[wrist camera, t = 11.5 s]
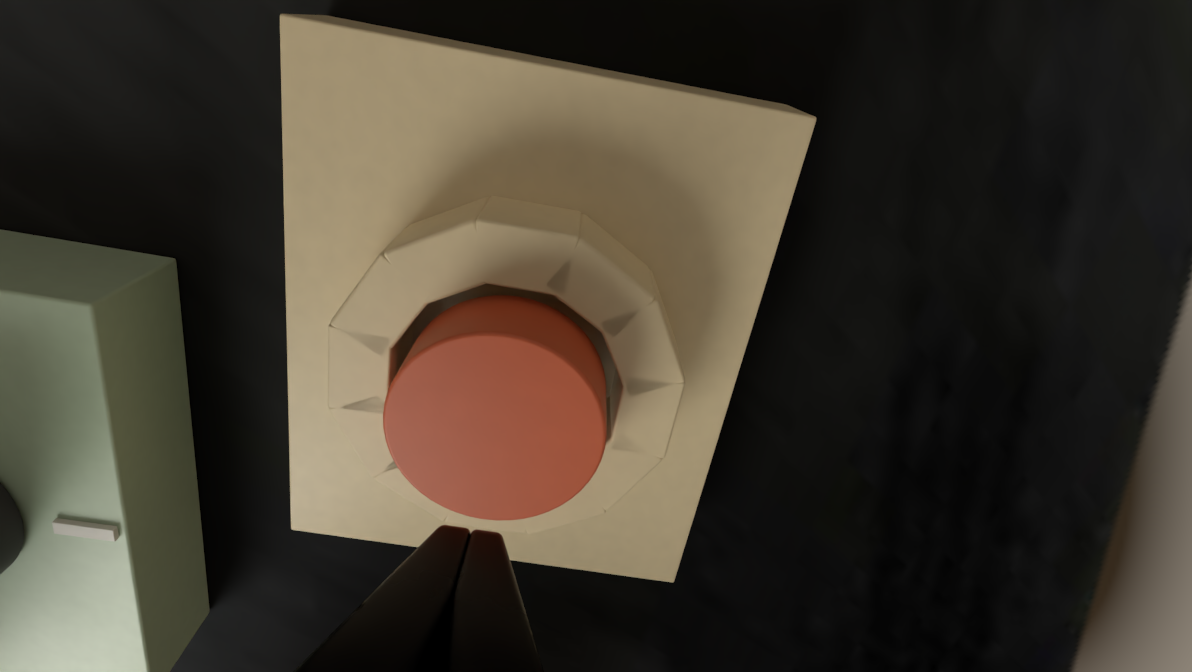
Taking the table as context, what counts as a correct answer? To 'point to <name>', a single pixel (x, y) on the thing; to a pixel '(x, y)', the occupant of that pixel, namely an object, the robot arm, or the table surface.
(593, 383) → the red push button
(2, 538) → the dial
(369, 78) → the orange button cream base
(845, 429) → the table surface
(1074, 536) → the table surface
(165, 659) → the dial panel
